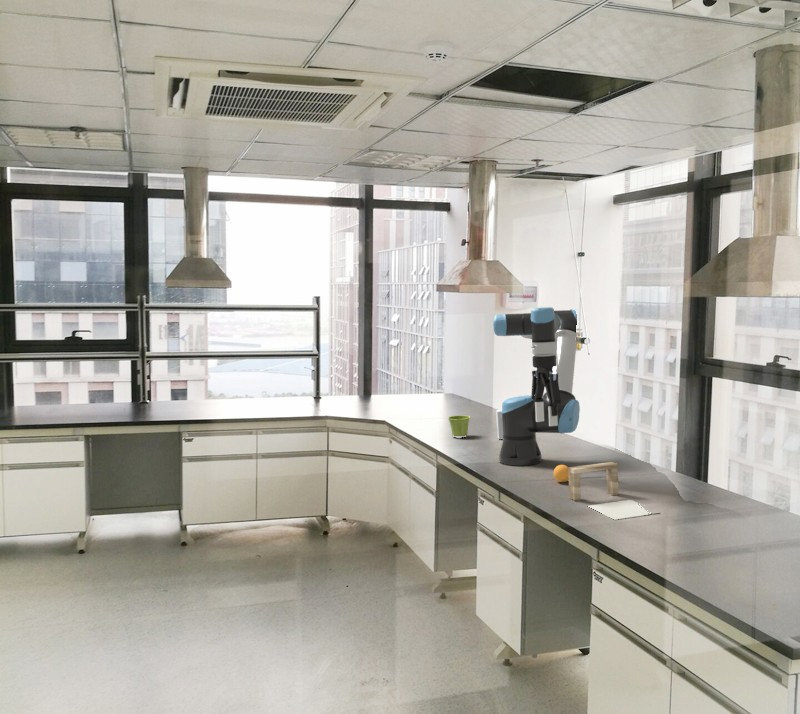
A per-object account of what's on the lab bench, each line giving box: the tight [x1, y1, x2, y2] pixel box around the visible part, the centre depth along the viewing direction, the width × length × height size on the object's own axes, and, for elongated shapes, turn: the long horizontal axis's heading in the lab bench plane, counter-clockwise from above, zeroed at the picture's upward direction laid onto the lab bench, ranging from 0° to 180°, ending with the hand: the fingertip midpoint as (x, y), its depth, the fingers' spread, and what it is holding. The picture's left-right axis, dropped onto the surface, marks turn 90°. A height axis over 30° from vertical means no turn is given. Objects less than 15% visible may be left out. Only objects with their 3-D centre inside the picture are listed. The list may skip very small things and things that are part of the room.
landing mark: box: [587, 499, 651, 521], centre depth 207 cm, size 14×14×1 cm
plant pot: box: [447, 414, 471, 436], centre depth 321 cm, size 9×9×9 cm
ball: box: [552, 464, 569, 483], centre depth 239 cm, size 6×6×6 cm
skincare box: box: [495, 409, 503, 440], centre depth 313 cm, size 6×4×12 cm
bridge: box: [568, 461, 620, 501], centre depth 221 cm, size 3×14×9 cm, turn 106°
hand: (546, 423), depth 247 cm, fingers open, 9 cm apart
